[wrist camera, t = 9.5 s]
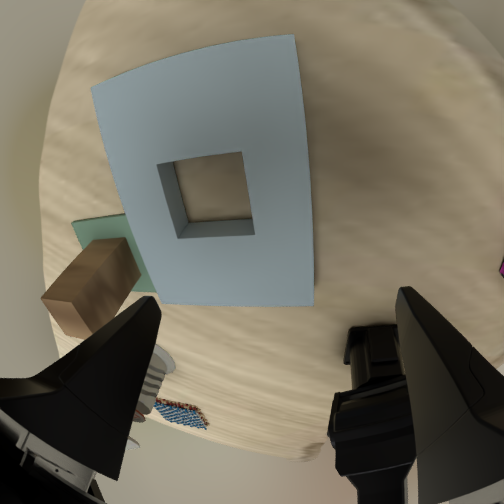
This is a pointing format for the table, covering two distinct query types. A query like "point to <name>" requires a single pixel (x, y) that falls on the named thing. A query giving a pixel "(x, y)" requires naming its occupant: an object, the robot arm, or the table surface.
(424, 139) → the table surface
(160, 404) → the woven mat
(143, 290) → the green pad
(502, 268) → the candy bar box
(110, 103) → the pocket board
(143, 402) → the french press
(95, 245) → the walnut block
